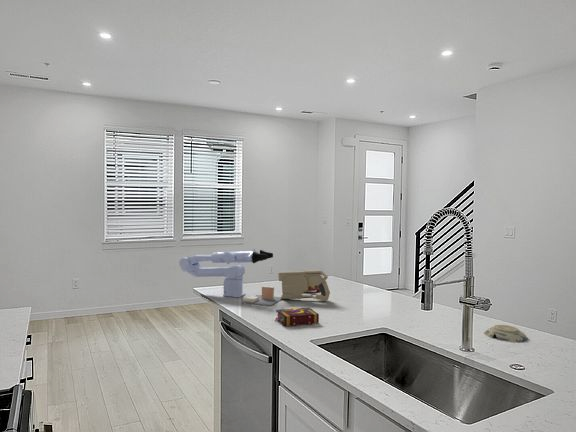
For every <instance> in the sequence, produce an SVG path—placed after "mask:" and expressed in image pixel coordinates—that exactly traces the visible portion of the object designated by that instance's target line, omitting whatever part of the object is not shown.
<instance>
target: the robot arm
mask: <svg viewBox="0 0 576 432" xmlns="http://www.w3.org/2000/svg"><path fill="white" fill-rule="evenodd" d="M272 258H274V254H273V253H272V252H269V251H265V250H263V249H259V252H258V251H256V249H255V248H252V249H251V250H248V251H247V250H245V251H231V250H230V251H226V250H224V251H220V252H219V251H218V250H216V251H214V252H212V253H211V254H196V255H195V254H194V255H190V256H187V257H181V258H180V259H179V261H178V264H179V267H180V270H182V271H183V272H186V273H188V274H190V275H191V276H193V277H195V278H196V277H198V278H199V277H201V278H203V277H208V278H209V277H224V278H225V279H224V280H223V294H222V296H223V297H233V298H240V297H243V296H245V295H246V293H243V289H244V286H243V285H244V284H243V278H244V277H243V276H244V275H245V271H246V270H245V267H244V265H242V264H240V263H252V264H257V263H258V262H262V261H264V260H265V261H266V260H268V259H272ZM201 262H212V263H213V264H225V263H226V264H227V265H230V264H231V263H239V264H235V265H233V266H225V267H224V266H223V267H222V266H221V267H220V266H219V267H218V266H217V267H215V266H214V267H201V265H200V263H201Z"/></svg>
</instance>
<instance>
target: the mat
mask: <svg viewBox="0 0 576 432" xmlns="http://www.w3.org/2000/svg"><path fill="white" fill-rule="evenodd" d="M255 297H259V300H258V301H256V302H254V303H252V302H243V301H242V304H248V305H258V306H259V305H260V306H267V307H272V306H274V305H275V304H278V303H279V302H281V301H282V300H283V299H281V297H282V296H274V299H273V300H271V299H262V294H261V295H260V294H256V295H255Z"/></svg>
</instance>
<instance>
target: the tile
mask: <svg viewBox="0 0 576 432" xmlns="http://www.w3.org/2000/svg"><path fill="white" fill-rule="evenodd" d="M261 295H262V299H271V300H273V299H274V297H275V287H274V286H267V285H266V286H265V285H263V286H261Z"/></svg>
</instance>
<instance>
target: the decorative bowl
mask: <svg viewBox="0 0 576 432" xmlns="http://www.w3.org/2000/svg"><path fill="white" fill-rule="evenodd" d="M483 334H484V335H485V336H486V337H488V338H489V339H493V338H494V336H495V337H496V340H497V341H501V342H507V343H523V342H526V341H529V340H528V339H529V338H528V336H527V335H526V334H525V333H524V332H523V331H521V330H519V329H518V328H517V327H515V326H512V325H506V324H495V325H494V326H492V327H490V328H488V329H486V330H485V332H484V333H483Z"/></svg>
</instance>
